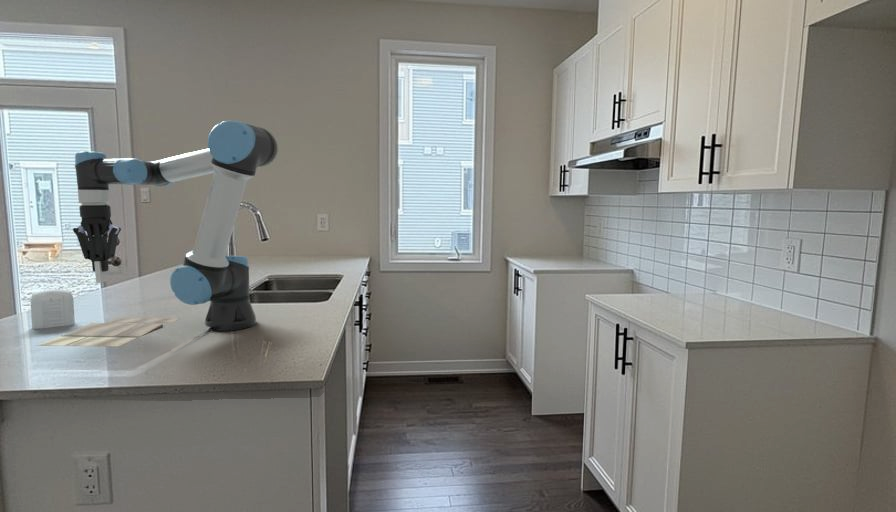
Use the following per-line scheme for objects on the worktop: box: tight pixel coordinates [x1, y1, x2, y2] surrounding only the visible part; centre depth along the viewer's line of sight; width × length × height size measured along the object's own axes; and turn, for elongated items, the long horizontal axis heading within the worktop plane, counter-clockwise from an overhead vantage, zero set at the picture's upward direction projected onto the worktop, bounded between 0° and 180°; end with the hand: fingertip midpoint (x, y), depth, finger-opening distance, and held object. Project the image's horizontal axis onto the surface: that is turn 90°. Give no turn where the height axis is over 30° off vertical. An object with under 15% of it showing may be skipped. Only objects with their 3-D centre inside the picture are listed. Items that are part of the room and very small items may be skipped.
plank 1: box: [64, 322, 164, 338], centre depth 143 cm, size 22×11×1 cm, turn 90°
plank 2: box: [106, 317, 181, 324], centre depth 155 cm, size 20×6×1 cm, turn 95°
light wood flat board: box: [37, 334, 140, 348], centre depth 132 cm, size 22×9×1 cm, turn 90°
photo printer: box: [29, 289, 76, 330], centre depth 146 cm, size 10×4×12 cm, turn 123°
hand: (101, 281), depth 145 cm, fingers closed
